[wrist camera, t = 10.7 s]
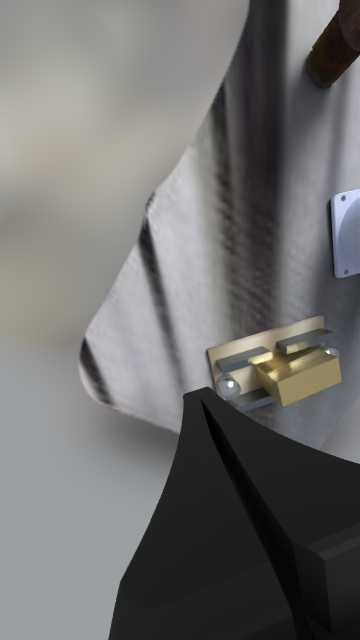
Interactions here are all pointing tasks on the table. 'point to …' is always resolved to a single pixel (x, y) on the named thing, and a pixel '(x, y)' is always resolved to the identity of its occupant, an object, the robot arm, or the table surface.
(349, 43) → the bolt
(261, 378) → the khaki rectangular block
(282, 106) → the table surface
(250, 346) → the plywood plate
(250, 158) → the table surface
